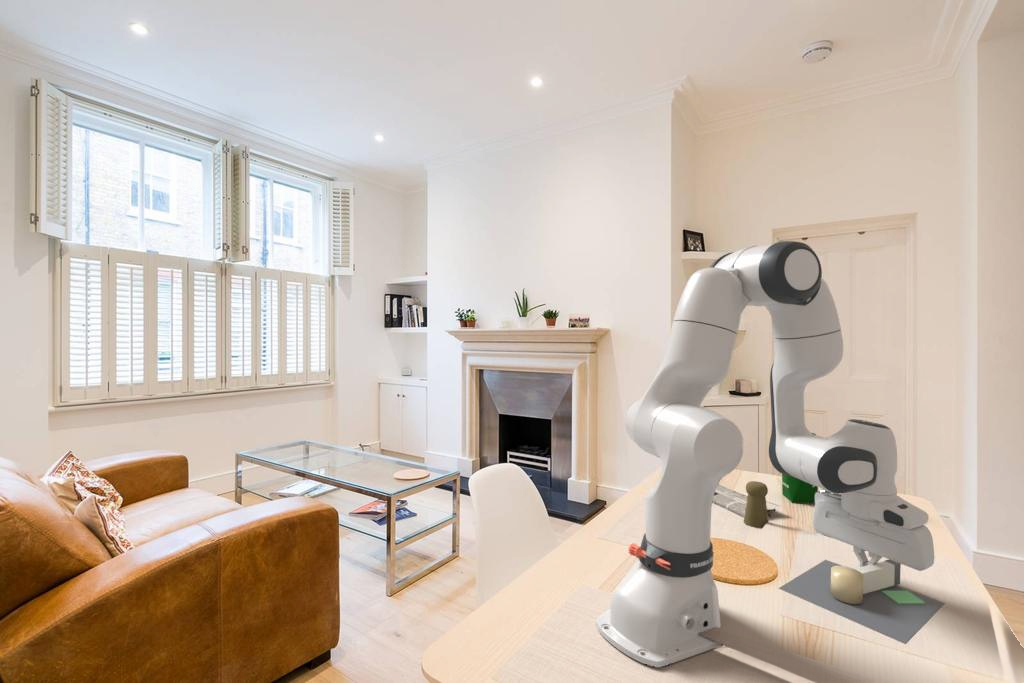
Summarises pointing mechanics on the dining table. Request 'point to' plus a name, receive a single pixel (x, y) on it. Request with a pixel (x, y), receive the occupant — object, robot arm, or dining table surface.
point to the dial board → (868, 604)
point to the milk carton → (798, 490)
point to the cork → (756, 505)
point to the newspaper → (736, 500)
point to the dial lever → (863, 580)
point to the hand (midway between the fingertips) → (867, 571)
